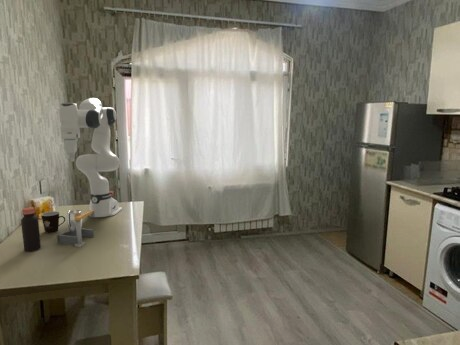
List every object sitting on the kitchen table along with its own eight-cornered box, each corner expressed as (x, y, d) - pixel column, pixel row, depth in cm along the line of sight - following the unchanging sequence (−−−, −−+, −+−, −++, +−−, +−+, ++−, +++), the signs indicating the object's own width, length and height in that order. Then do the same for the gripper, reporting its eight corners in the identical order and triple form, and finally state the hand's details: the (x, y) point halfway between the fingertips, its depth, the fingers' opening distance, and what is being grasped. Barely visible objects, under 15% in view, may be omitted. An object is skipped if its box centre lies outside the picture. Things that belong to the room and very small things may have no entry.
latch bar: (79, 226, 152) (78, 218, 151) (74, 225, 152) (73, 218, 152) (95, 216, 167) (95, 209, 166) (90, 216, 167) (90, 209, 166)
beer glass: (65, 241, 159) (63, 213, 157) (74, 236, 166) (72, 209, 164) (78, 242, 158) (76, 213, 156) (86, 237, 165) (84, 209, 163)
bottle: (20, 250, 149) (16, 209, 145) (34, 245, 155) (30, 205, 151) (30, 253, 146) (26, 211, 143) (44, 247, 152) (40, 207, 149)
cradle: (74, 234, 169) (72, 212, 167) (97, 237, 166) (96, 214, 164) (55, 243, 157) (53, 219, 154) (80, 246, 154) (78, 222, 151)
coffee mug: (39, 232, 172) (37, 214, 171) (54, 227, 180) (52, 210, 178) (52, 236, 167) (51, 217, 165) (67, 231, 174) (66, 213, 173)
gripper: (65, 133, 171) (67, 159, 174) (61, 135, 153) (63, 164, 155) (78, 133, 174) (80, 158, 176) (76, 135, 155) (78, 163, 157)
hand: (72, 161), depth 165 cm, fingers closed
